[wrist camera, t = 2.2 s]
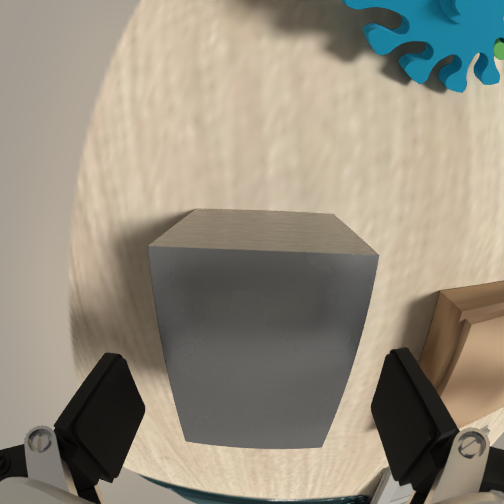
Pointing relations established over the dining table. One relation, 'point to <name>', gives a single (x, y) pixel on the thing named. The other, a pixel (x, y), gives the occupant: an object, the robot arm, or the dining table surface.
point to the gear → (442, 37)
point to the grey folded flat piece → (396, 488)
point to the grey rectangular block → (260, 322)
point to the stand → (467, 351)
